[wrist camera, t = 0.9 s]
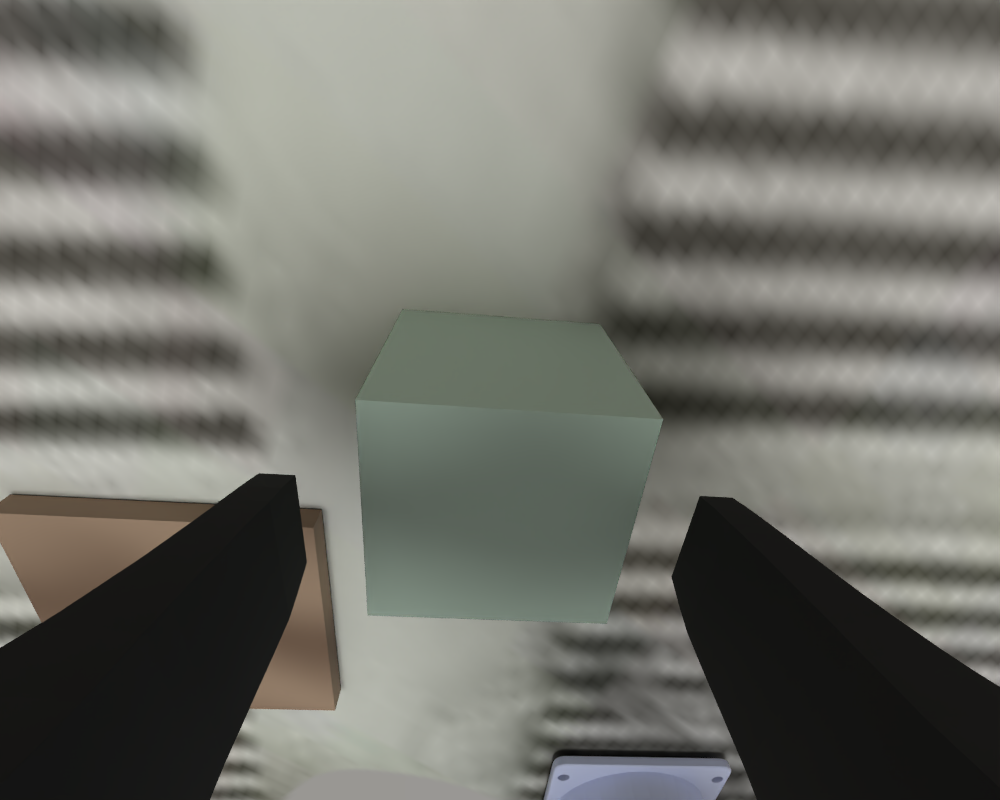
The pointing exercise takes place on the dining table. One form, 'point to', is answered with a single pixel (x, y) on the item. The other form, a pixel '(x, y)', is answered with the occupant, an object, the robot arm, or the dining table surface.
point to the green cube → (499, 468)
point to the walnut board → (135, 532)
